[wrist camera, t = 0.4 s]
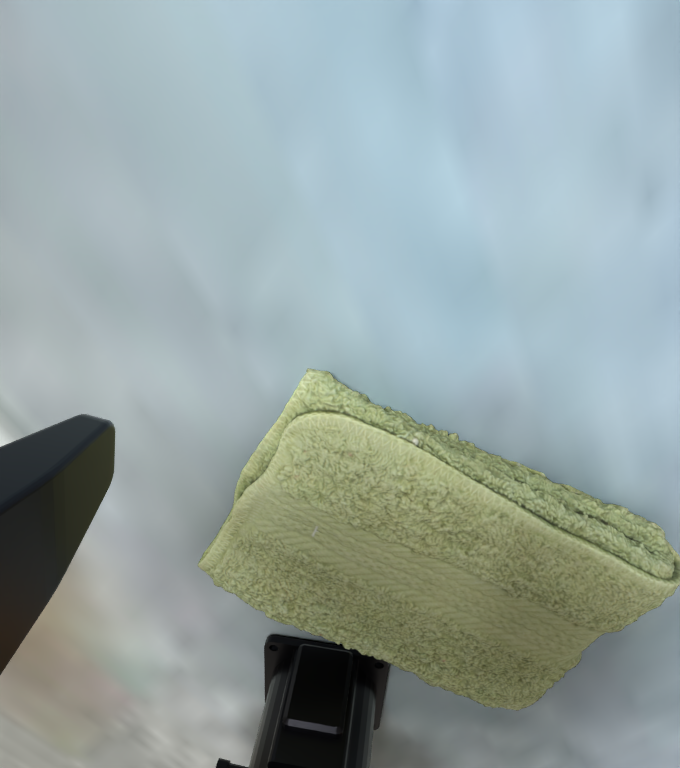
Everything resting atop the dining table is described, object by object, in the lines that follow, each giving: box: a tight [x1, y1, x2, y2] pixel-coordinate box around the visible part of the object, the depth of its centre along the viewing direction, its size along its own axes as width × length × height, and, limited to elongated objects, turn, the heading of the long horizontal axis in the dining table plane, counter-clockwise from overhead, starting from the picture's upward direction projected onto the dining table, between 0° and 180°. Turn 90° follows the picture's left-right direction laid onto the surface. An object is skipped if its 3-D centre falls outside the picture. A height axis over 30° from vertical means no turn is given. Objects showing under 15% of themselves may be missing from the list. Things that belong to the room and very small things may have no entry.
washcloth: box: [198, 369, 680, 710], centre depth 26 cm, size 13×18×3 cm
